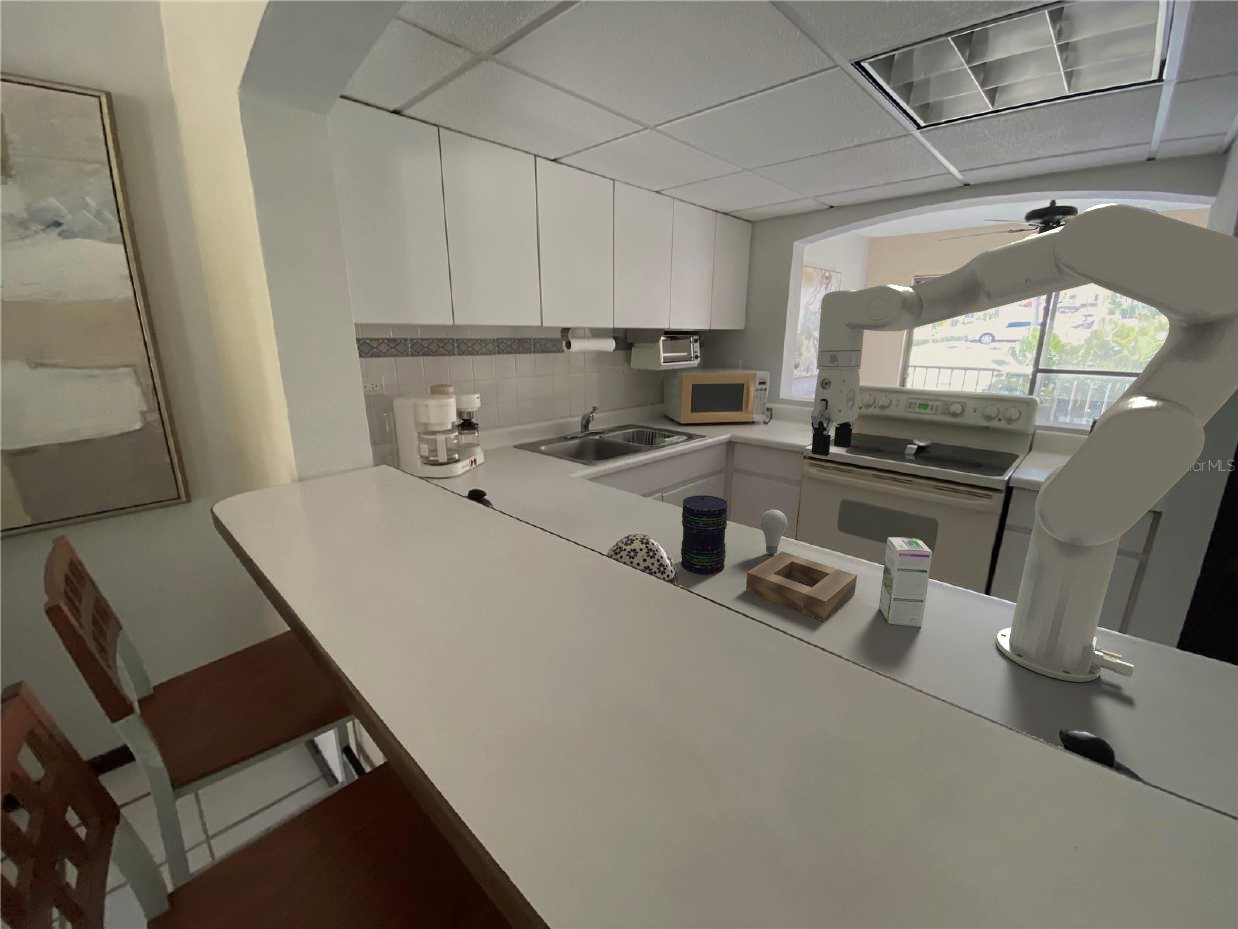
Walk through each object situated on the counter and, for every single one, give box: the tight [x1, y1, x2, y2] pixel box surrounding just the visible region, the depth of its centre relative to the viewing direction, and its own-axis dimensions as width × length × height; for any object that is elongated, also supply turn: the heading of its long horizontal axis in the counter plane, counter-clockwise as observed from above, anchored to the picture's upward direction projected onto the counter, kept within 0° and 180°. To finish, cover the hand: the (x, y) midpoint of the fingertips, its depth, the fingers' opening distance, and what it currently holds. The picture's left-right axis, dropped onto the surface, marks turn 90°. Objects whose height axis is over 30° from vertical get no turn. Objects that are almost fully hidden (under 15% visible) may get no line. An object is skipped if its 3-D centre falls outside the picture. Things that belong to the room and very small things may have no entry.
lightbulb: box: [759, 509, 789, 556], centre depth 114 cm, size 6×6×11 cm
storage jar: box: [680, 495, 729, 576], centre depth 109 cm, size 10×10×15 cm
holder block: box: [745, 551, 858, 621], centre depth 98 cm, size 16×14×4 cm
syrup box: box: [878, 536, 933, 628], centre depth 88 cm, size 6×6×14 cm
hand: (831, 450), depth 96 cm, fingers open, 9 cm apart
